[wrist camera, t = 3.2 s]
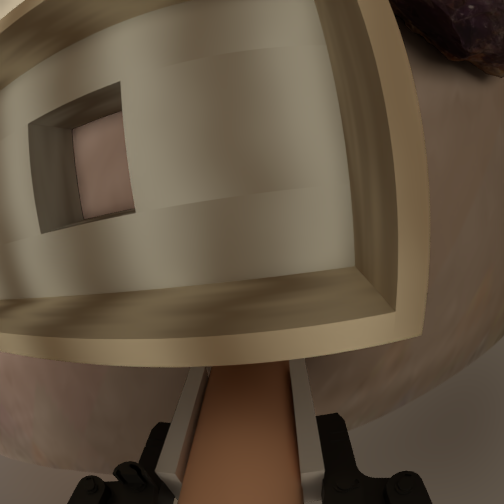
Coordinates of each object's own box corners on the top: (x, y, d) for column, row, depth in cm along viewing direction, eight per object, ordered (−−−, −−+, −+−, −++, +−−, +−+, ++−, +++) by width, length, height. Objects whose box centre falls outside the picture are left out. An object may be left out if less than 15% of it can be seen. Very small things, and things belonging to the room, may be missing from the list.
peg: (224, 378, 17) (182, 608, 3) (211, 323, 16) (126, 598, 2) (290, 373, 17) (309, 614, 3) (284, 316, 16) (313, 619, 1)
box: (16, 293, 17) (-52, 338, 9) (-11, 121, 13) (-86, 120, 5) (351, 258, 15) (421, 335, 7) (314, 12, 11) (346, -81, 4)
